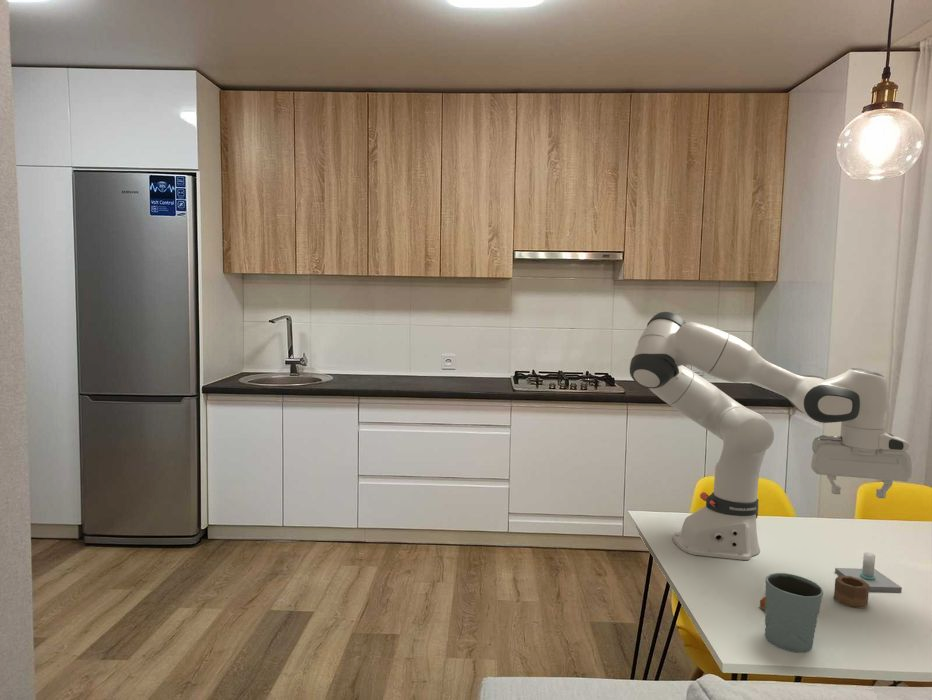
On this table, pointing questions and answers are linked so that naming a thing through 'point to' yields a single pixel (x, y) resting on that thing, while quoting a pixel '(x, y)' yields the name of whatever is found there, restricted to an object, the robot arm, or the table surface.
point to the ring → (851, 591)
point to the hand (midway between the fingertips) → (857, 495)
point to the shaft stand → (870, 576)
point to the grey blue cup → (791, 611)
